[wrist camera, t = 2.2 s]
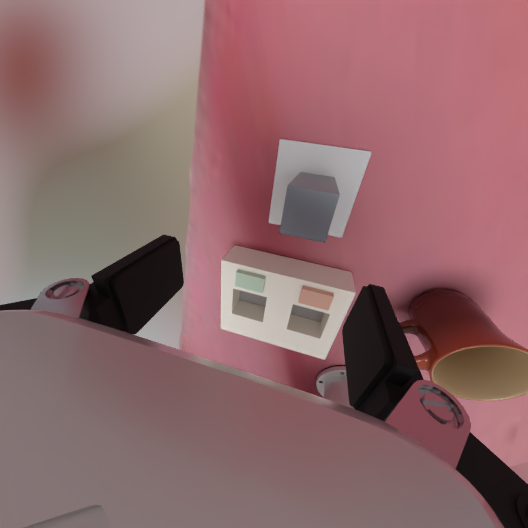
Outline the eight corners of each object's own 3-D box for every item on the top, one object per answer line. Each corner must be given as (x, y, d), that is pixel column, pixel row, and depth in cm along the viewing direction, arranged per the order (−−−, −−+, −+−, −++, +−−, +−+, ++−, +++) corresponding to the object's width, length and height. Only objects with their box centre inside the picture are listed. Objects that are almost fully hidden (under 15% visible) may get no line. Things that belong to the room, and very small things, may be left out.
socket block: (351, 272, 29) (356, 297, 25) (324, 335, 37) (324, 364, 32) (234, 245, 32) (218, 262, 27) (231, 309, 40) (218, 332, 35)
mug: (483, 279, 25) (565, 347, 17) (469, 329, 29) (529, 406, 21) (376, 284, 29) (397, 341, 21) (375, 328, 33) (393, 392, 25)
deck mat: (370, 151, 22) (371, 151, 21) (341, 236, 27) (341, 237, 27) (280, 139, 23) (279, 138, 23) (269, 221, 29) (268, 222, 28)
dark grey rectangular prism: (334, 177, 23) (339, 194, 15) (324, 211, 26) (325, 242, 17) (300, 171, 24) (287, 185, 16) (293, 205, 26) (279, 233, 18)
